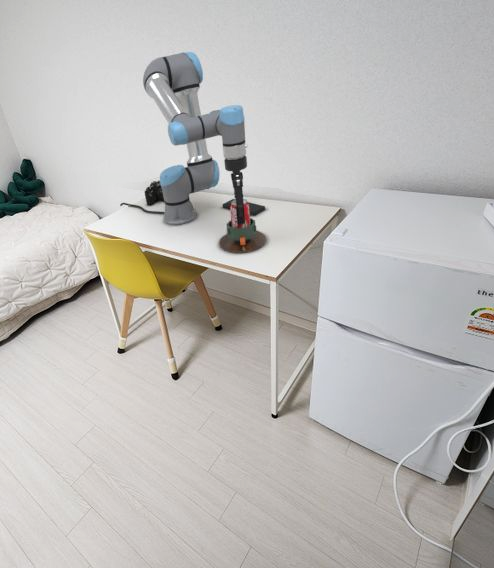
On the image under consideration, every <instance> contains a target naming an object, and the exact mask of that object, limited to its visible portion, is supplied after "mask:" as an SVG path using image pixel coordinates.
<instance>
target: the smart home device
mask: <svg viewBox="0 0 494 568" xmlns="http://www.w3.org/2000/svg"><path fill="white" fill-rule="evenodd" d="M235 199H236V198H232V199H230V200H228V201H226V202H224V203H222V208H223V209H226V210H228V211H230V206H231V202H232V201H233V200H235ZM247 203H248V204H249V210H250V216H253V217H255V216H257V215H259V214H260V213H262V212H264V211H266V206H265V205H262V204H256V203H252V202H249V201H247Z"/></svg>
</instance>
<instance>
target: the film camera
mask: <svg viewBox="0 0 494 568" xmlns="http://www.w3.org/2000/svg"><path fill="white" fill-rule="evenodd" d="M144 197H145V202H146V205H147V206H153V205H154V204H156V203H157V202H160V201H162V202H164V197H163V192H162V187H161V185H160V179H159V180H157V181H156V180H153V181H151V182H150V184H149V186H147V187H145V190H144Z"/></svg>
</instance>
